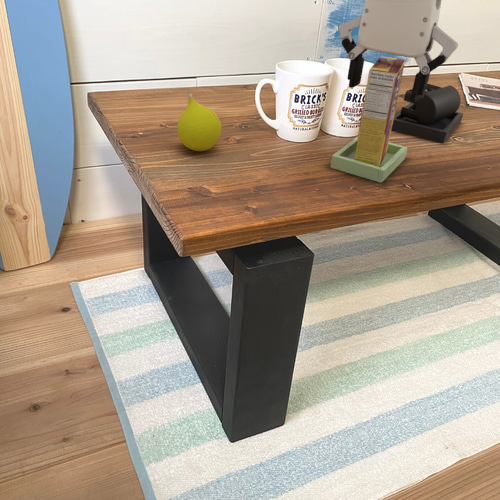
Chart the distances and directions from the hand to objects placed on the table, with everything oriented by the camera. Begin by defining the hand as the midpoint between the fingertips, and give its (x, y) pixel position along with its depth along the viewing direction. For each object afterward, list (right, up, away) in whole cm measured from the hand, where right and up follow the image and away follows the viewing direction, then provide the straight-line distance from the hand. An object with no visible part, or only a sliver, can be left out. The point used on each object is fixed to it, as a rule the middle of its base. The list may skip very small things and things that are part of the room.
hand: (383, 92), depth 77 cm
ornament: (-29, -7, +7) cm, 30 cm away
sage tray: (-1, -10, +7) cm, 12 cm away
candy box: (-1, -9, +6) cm, 11 cm away
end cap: (+14, +1, +23) cm, 27 cm away
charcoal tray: (+14, +1, +23) cm, 27 cm away
